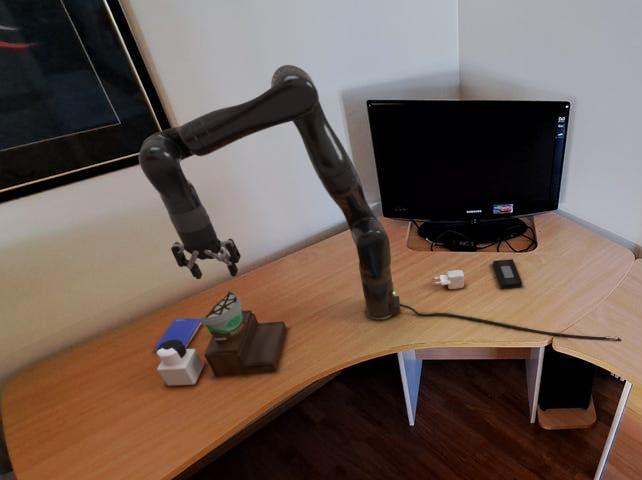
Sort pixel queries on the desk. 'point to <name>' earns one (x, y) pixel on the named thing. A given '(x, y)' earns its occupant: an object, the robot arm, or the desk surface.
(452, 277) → the power adapter
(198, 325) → the hard drive
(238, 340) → the desk shelf
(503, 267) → the vhs tape
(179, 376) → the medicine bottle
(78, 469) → the desk surface
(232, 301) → the food container
